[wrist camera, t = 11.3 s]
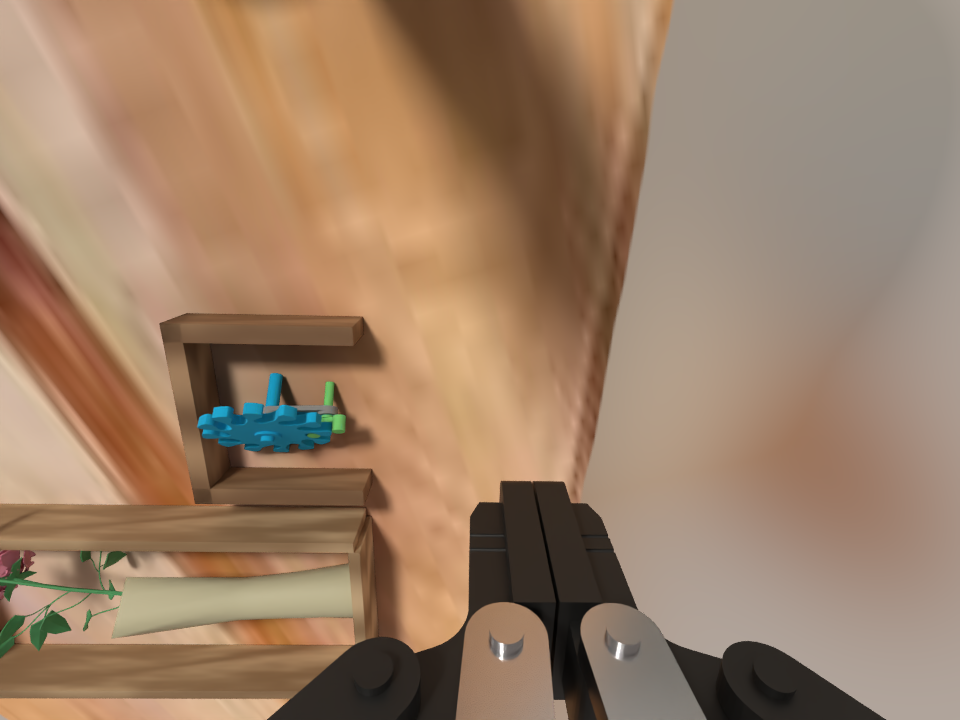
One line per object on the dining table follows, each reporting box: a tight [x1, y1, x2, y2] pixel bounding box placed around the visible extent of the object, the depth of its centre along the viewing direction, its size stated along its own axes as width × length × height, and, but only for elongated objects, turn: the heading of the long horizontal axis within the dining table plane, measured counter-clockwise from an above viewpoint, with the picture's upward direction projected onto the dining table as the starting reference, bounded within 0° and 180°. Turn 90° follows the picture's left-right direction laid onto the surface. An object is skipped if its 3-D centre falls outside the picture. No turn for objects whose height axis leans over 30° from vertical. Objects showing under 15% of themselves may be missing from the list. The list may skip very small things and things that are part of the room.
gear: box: [197, 373, 346, 452], centre depth 39 cm, size 11×6×10 cm
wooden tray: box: [0, 504, 379, 699], centre depth 45 cm, size 18×40×5 cm, turn 89°
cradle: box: [159, 313, 372, 506], centre depth 39 cm, size 16×14×4 cm
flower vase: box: [0, 550, 353, 658], centre depth 42 cm, size 12×12×35 cm
